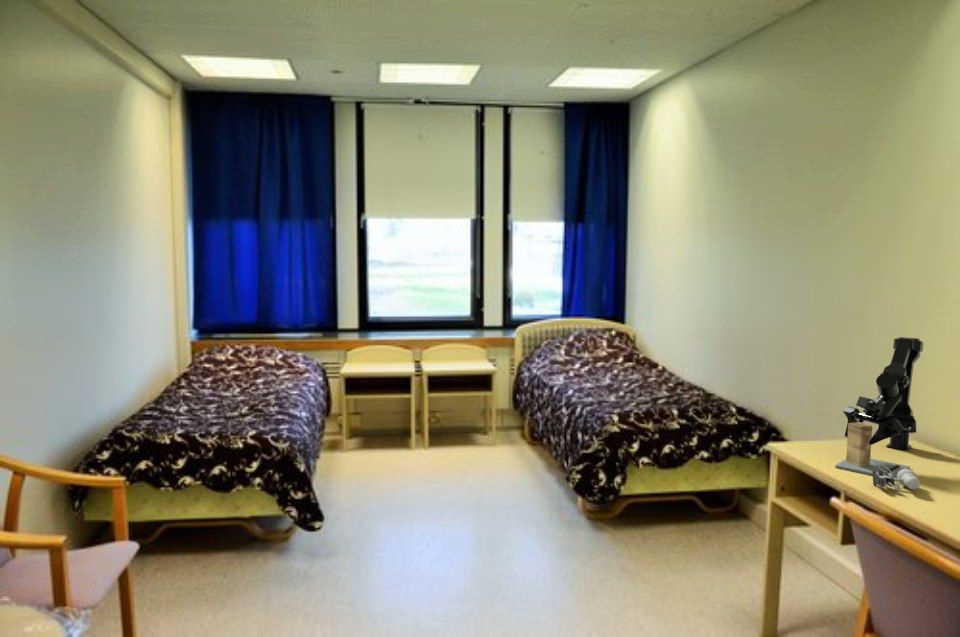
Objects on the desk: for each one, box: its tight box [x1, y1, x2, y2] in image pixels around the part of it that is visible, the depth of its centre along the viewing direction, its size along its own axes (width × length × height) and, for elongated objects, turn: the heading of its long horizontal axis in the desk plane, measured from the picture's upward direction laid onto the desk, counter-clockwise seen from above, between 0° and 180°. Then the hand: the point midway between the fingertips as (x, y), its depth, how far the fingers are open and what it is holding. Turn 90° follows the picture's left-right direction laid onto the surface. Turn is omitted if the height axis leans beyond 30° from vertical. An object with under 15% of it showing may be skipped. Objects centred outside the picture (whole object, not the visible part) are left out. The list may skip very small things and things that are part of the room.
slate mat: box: [834, 457, 911, 478], centre depth 223 cm, size 16×17×1 cm
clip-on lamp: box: [872, 459, 921, 492], centre depth 208 cm, size 12×6×18 cm
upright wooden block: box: [845, 422, 873, 467], centre depth 224 cm, size 5×5×13 cm
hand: (857, 440), depth 224 cm, fingers open, 9 cm apart
